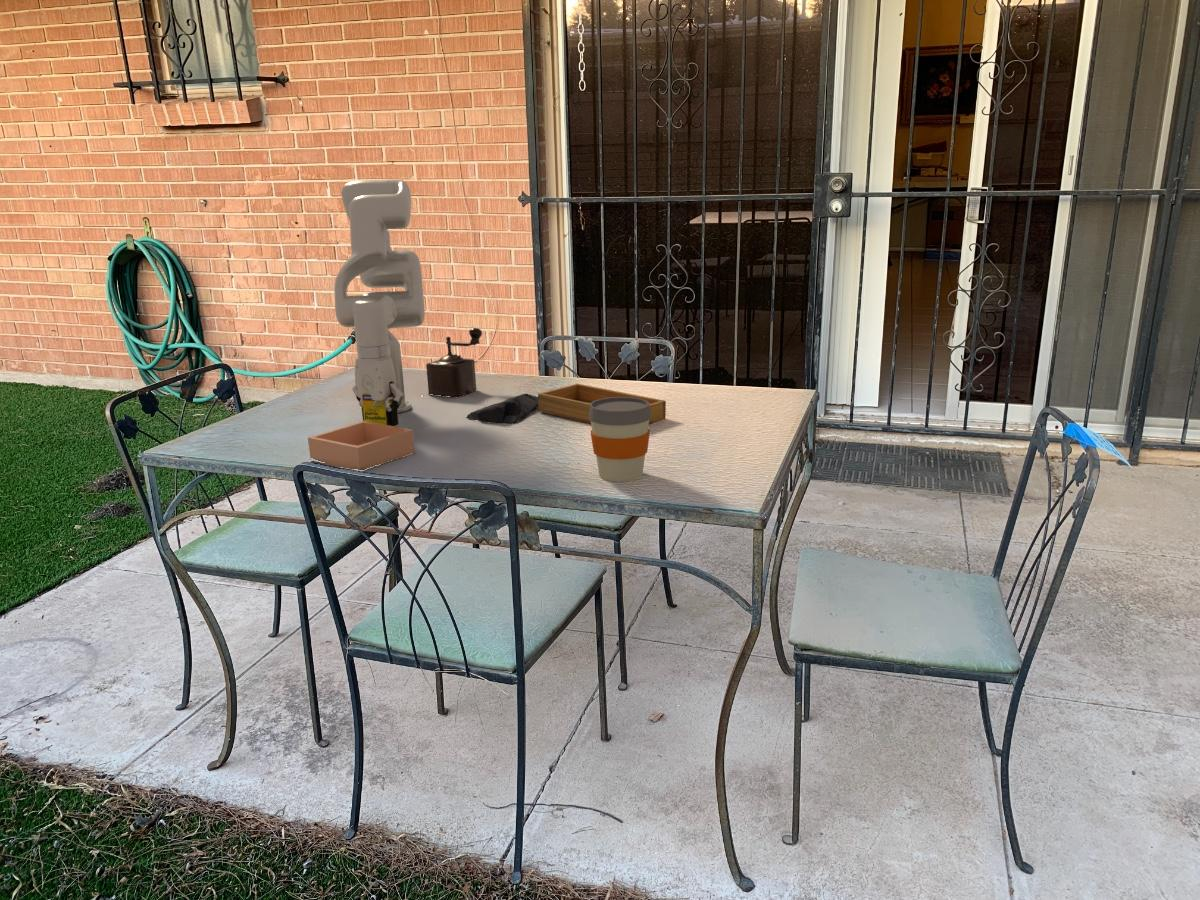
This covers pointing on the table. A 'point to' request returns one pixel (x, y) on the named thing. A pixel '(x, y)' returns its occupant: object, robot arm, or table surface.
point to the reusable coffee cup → (620, 436)
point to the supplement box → (374, 410)
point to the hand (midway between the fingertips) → (380, 423)
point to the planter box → (361, 445)
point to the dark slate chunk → (506, 410)
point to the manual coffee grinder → (453, 371)
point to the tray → (588, 402)
